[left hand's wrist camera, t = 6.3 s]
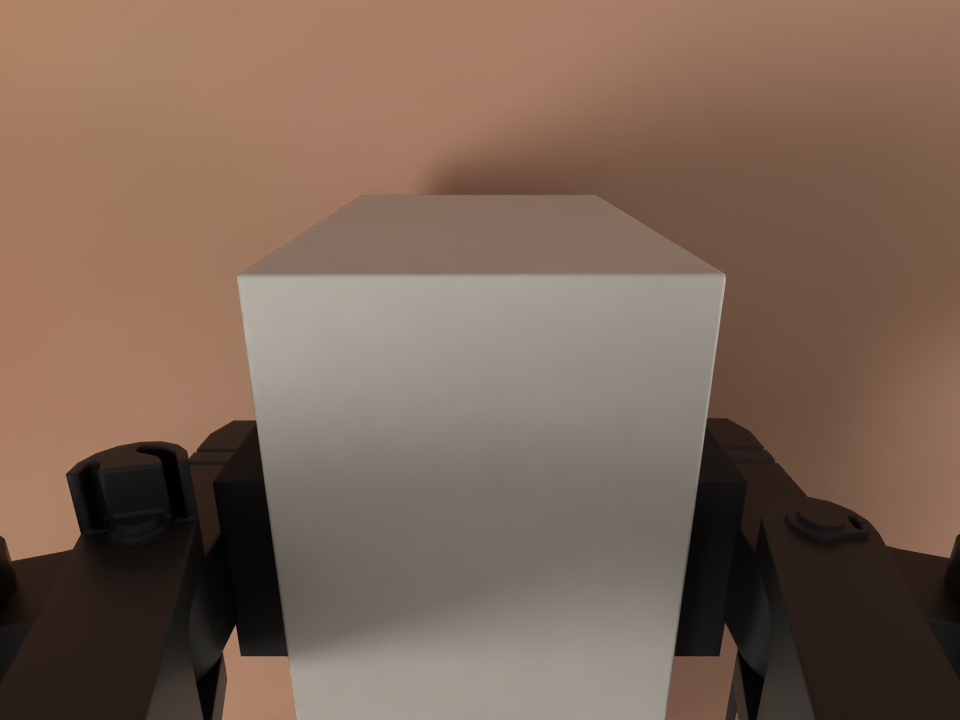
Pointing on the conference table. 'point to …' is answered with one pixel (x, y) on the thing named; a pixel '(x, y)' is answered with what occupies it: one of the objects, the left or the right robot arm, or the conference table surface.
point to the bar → (481, 454)
